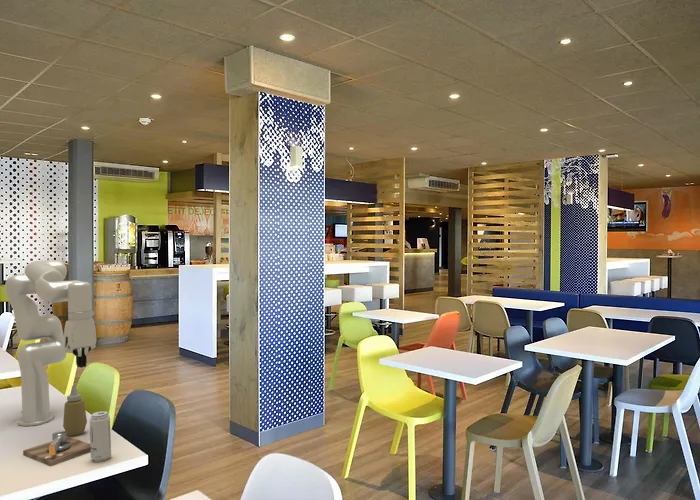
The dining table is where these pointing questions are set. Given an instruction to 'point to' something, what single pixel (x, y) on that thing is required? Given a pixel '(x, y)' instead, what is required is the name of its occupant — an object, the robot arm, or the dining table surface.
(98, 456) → the energy drink can
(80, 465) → the dining table surface
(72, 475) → the dining table surface
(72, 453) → the walnut stand
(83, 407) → the squeeze bottle
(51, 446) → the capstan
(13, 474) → the dining table surface
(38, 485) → the dining table surface
